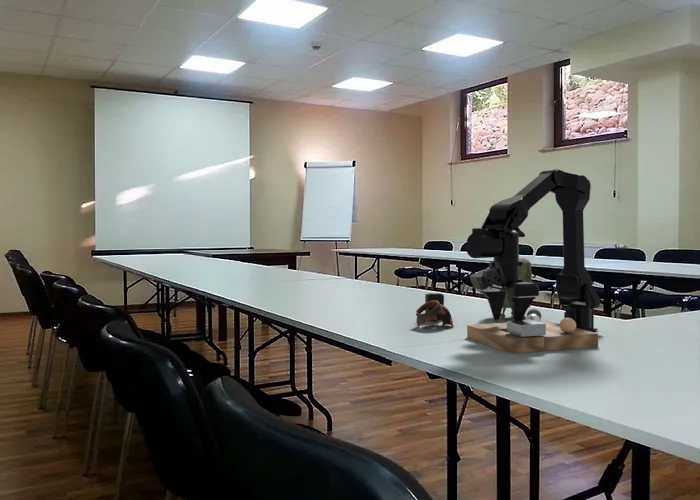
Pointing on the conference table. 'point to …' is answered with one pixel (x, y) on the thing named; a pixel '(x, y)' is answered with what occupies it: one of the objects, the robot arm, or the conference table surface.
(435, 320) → the brown arched legged figurine
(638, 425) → the conference table surface
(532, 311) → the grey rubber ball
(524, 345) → the walnut deck
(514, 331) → the brushed grey metal box
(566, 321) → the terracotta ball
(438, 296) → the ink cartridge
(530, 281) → the tabletop clock
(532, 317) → the steel ball
